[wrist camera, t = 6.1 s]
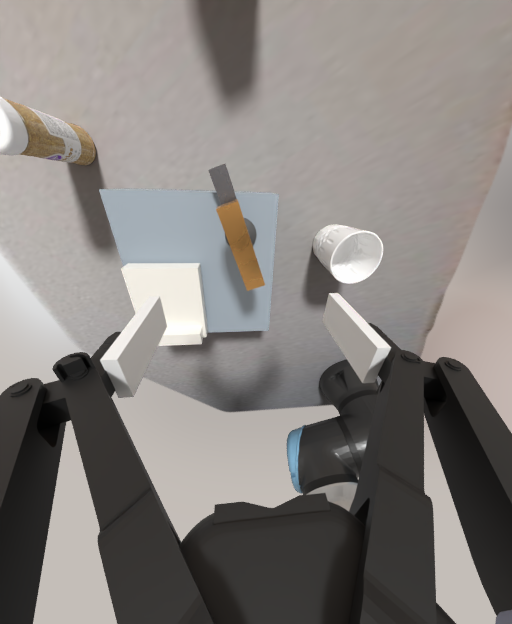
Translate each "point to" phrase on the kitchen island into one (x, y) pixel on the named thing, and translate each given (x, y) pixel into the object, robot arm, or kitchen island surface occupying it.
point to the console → (199, 246)
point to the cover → (171, 298)
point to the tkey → (236, 229)
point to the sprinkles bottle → (42, 135)
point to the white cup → (348, 252)
